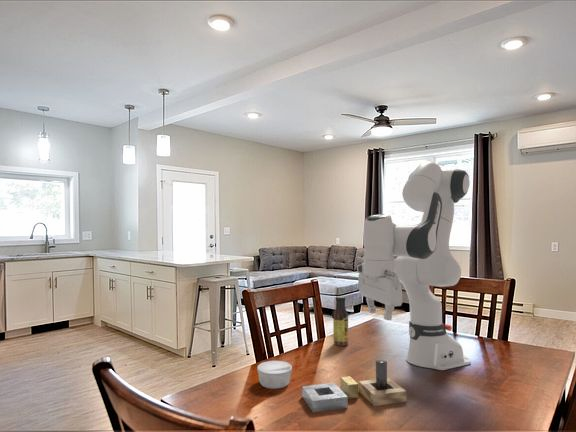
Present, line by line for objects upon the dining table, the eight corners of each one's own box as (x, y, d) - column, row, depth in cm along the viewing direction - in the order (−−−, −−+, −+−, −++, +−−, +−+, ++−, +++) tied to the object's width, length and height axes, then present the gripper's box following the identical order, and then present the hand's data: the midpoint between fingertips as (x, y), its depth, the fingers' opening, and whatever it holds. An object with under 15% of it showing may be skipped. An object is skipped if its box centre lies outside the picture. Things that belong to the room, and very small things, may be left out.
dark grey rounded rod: (383, 393, 116) (383, 359, 116) (389, 397, 113) (388, 363, 113) (374, 394, 115) (373, 360, 116) (379, 399, 112) (378, 364, 112)
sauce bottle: (348, 347, 161) (347, 298, 161) (332, 346, 162) (332, 298, 162) (348, 342, 167) (348, 295, 168) (334, 341, 168) (333, 295, 169)
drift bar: (349, 389, 119) (349, 376, 119) (358, 397, 113) (358, 383, 113) (340, 390, 118) (340, 377, 118) (348, 398, 112) (348, 384, 113)
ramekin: (279, 393, 117) (279, 375, 117) (249, 385, 123) (249, 368, 123) (298, 380, 126) (298, 364, 126) (270, 374, 132) (270, 358, 132)
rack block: (388, 387, 120) (388, 377, 120) (406, 401, 111) (406, 390, 111) (358, 391, 118) (358, 381, 118) (374, 405, 108) (374, 395, 108)
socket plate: (334, 392, 117) (334, 382, 117) (347, 407, 107) (347, 396, 107) (302, 396, 114) (302, 386, 114) (313, 412, 104) (312, 401, 105)
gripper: (407, 272, 106) (408, 323, 106) (372, 265, 126) (373, 308, 126) (387, 273, 105) (387, 325, 105) (354, 266, 125) (355, 309, 124)
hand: (379, 315), depth 115 cm, fingers open, 8 cm apart
